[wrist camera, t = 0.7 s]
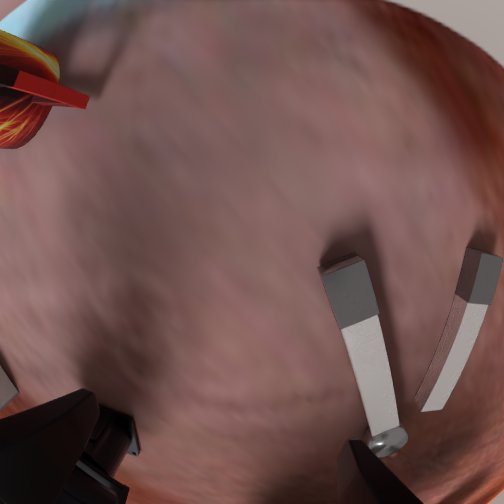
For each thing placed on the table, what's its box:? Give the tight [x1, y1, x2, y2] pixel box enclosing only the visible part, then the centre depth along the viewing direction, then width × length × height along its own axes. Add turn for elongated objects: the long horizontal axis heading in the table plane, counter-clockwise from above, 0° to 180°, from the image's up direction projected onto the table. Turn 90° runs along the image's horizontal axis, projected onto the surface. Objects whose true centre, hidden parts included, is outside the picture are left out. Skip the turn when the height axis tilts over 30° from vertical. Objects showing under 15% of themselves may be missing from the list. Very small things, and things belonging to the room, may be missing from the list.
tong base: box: [414, 247, 503, 412], centre depth 17 cm, size 14×3×2 cm, turn 173°
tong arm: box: [317, 252, 408, 457], centre depth 18 cm, size 19×4×2 cm, turn 23°
